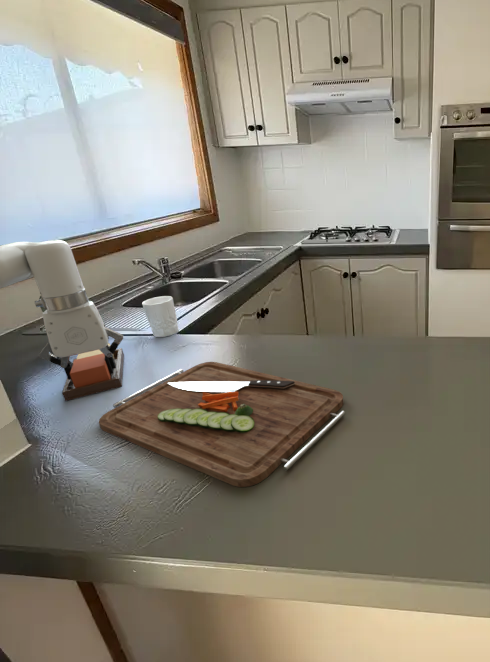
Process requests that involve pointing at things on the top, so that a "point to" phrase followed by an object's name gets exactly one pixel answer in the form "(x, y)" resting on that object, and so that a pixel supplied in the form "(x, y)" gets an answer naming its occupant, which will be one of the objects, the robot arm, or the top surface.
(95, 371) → the terracotta pad
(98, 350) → the beige pad
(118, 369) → the tray
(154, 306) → the white cup
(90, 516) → the top surface
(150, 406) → the chopping board
